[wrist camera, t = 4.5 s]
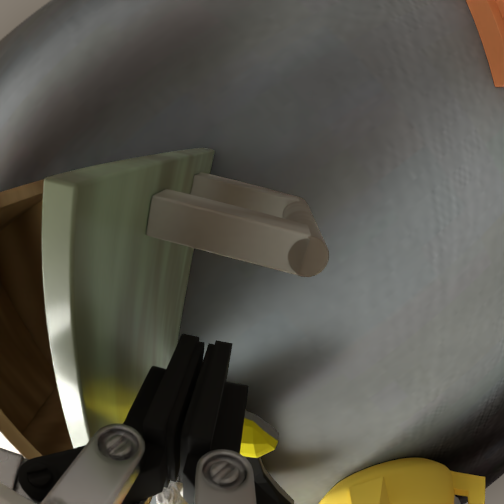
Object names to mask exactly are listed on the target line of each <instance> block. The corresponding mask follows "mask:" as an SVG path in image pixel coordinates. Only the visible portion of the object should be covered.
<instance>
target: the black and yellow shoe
mask: <svg viewBox="0 0 504 504" xmlns="http://www.w3.org/2000/svg"><path fill="white" fill-rule="evenodd" d="M278 436H279V433H278V432H277V430H276V429H275V428H273V427H272V426H271V425H269V424H268V423H267V422H266V421H264V420H263V419H262V418H260V417H259V416H257V415H255V414H253V413H250V412H248V411H246V410H245V417H244V425H243V432H242V440H241V448H240V454H241V455H242V456H244V457H245V458H246V459H247V460H248V461H249V463H250V464H251V466H252V469H253V475H254V481H255V482H256V483H257V484H258V485H259V486H260V487H261V488H262V489H263V490H264V491H265V492H266V493H267V494H268V495H270V496H271V497H272V498H273V499H274V500H275V501H276V502H277V503H278V504H294V500H293V499H292V498H291V497H290V496H289V495H288V494H287V493H286V492H285V491H284V490H283V489H282V488H281V487H280V486H279V484H278V483H277V482H276V481H275V480H274V479H273V478H272V477H271V476H270V475H269V473H268V472H267V471H266V469H265V468H264V466H263V463H262V460H261V457H260V456H263V455H265V454H267V453H269V452H271V451H273V450H275V448H276V446H277V443H278ZM178 476H179V478H180V470H179V473H178ZM180 494H181V496H182V497H183V488H182V490H181V492H180Z"/></svg>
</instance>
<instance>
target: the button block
mask: <svg viewBox="0 0 504 504" xmlns="http://www.w3.org/2000/svg"><path fill="white" fill-rule="evenodd" d="M466 2H467V4H468V7H469V9H470V12H471V14H472V17H473V19H474V22H475V24H476V27H477V30H478V32H479V35H480V38H481V41H482V44H483V47H484V50H485V53H486V56H487V60H488V63H489V66H490V70H491V74H492V77H493V81H494V85H495V87H504V0H466Z"/></svg>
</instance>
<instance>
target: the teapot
mask: <svg viewBox="0 0 504 504" xmlns="http://www.w3.org/2000/svg"><path fill="white" fill-rule="evenodd" d="M454 494H455V495H461V496H468V504H485V477H482V476H476V475H470V474H464V473H459V472H454V471H450V470H449V469H448V468H447V467H446V466H445V465H443V464H441V463H438V462H436V461H433V460H429V459H425V458H403V459H397V460H392V461H388V462H384V463H381V464H378V465H374V466H372V467H369V468H366V469H364V470H361V471H359V472H356V473H354V474H352V475H350V476H348V477H346V478H345V479H343V480H341V481H340V482H339V483H337V484H336V485H335V486H334V487H333V488H332V489H331V490H330V491H329V492H328V493H327V494H326V495H325V496H324V498H323V499H322V500H321V501H320V503H319V504H454V496H455V495H454Z"/></svg>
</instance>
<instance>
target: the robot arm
mask: <svg viewBox="0 0 504 504" xmlns="http://www.w3.org/2000/svg"><path fill="white" fill-rule="evenodd" d="M231 349H232V343H227V342H221V341H216V342H215V345H214V344H209V345H208V348H207V351H206V354H205V357H204V360H203V354H204V342H199V337H197V336H192V335H187V334H182V336H181V338H180V340H179V342H178V344H177V346H176V349H175V351H174V353H173V355H172V358H171V360H170V362H169V364H168V366H167V369H164V368H160V367H156V366H152V367H151V369H150V370H149V372H148V374H147V376H146V378H145V380H144V382H143V384H142V386H141V388H140V390H139V392H138V394H137V396H136V398H135V400H134V402H133V404H132V406H131V408H130V410H129V412H128V415H127V417H126V419H125V421H124V423H123V424H116V423H115V424H109V425H106V426H104V427H101V428H100V429H99V430H98V431H97V432H96V433H95V434H94V435H93V437H92V438H91V439H90V440H89V442H88V443H87V444H86V445H84V446H80V447H77V448H73V449H69V450H65V451H61V452H57V453H53V454H49V455H44V456H40V457H35V458H32V459H26V458H24V457H23V455H21V454H18V453H15V452H12V451H9V450H6V449H3V448H0V504H149V503H150V502H151V499H152V496H154V495H156V494H159V493H161V492H162V491H163V488H164V487H166V488H168V486H169V482H170V480H171V481H175V482H176V480H177V477H178V473H179V470H180V482H181V483H183V498H184V499H185V501H186V502H187V503H188V504H278V503H277V502H276V501H275V500H274V499H273V498H272V497H271V496H270V495H268V494H267V493H266V492H265V491H264V490H263V489H262V488H261V487H260V486H259V485H258V484H257V483H256V482H255V481H254V475H253V469H252V466H251V464H250V463H249V461H248V460H247V459H246V458H245V457H244V456H242V455H241V454H240V448H241V440H242V432H243V425H244V417H245V409H246V401H247V393H248V386H246V385H240V384H235V383H229V382H226V379H227V373H228V367H229V361H230V355H231Z"/></svg>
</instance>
